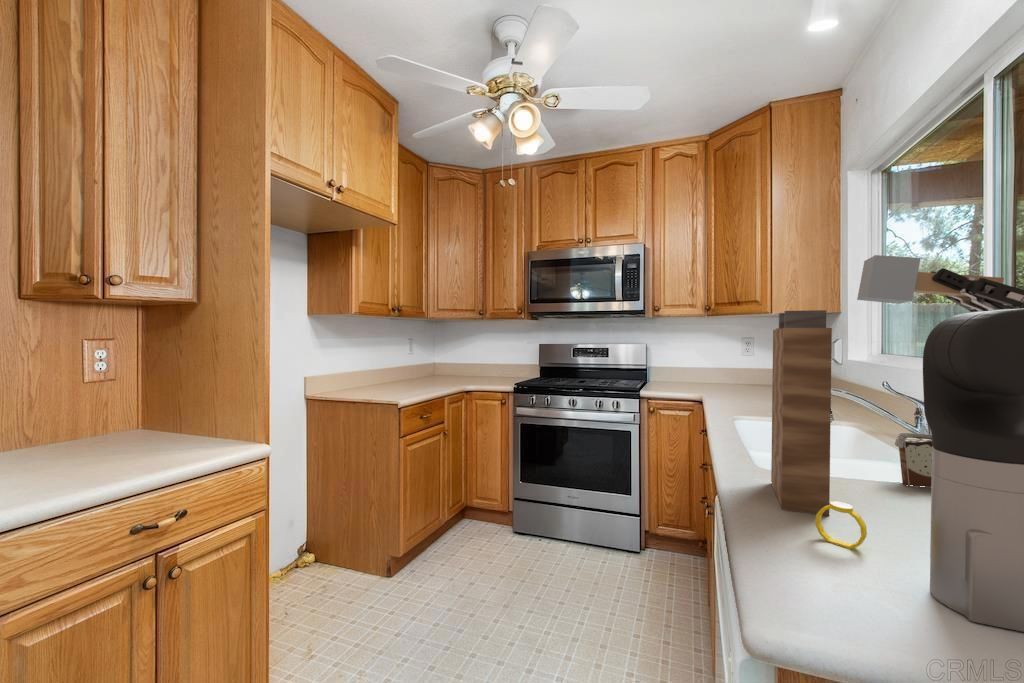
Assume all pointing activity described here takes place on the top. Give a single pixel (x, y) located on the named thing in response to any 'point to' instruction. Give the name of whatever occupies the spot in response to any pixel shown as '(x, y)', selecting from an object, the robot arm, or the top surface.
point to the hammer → (901, 280)
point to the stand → (801, 411)
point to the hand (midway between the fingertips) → (931, 275)
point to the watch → (845, 509)
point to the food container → (915, 458)
